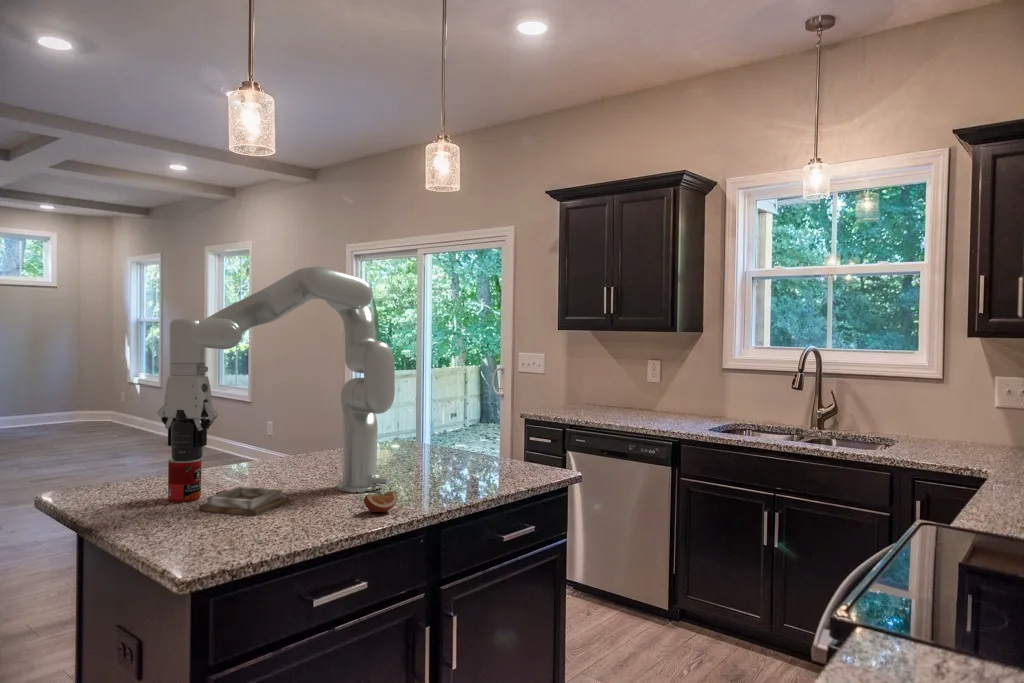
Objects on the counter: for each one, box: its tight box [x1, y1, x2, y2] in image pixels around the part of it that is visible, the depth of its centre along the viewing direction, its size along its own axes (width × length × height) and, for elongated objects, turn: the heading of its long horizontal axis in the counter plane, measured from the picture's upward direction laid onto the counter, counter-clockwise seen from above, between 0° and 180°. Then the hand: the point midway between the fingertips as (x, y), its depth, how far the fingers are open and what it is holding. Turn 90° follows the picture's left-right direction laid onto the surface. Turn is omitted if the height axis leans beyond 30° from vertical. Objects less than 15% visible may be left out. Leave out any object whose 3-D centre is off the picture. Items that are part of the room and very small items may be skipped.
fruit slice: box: [363, 490, 398, 513], centre depth 165 cm, size 8×7×5 cm
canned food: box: [167, 457, 202, 504], centre depth 174 cm, size 8×8×11 cm
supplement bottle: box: [170, 410, 204, 461], centre depth 158 cm, size 7×7×12 cm
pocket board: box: [198, 486, 290, 516], centre depth 169 cm, size 16×14×3 cm
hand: (187, 445), depth 158 cm, fingers closed on supplement bottle, 6 cm apart
